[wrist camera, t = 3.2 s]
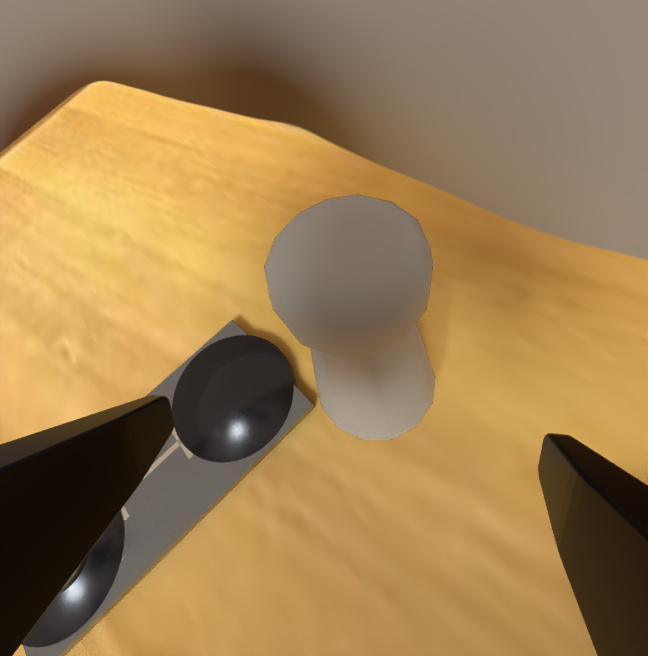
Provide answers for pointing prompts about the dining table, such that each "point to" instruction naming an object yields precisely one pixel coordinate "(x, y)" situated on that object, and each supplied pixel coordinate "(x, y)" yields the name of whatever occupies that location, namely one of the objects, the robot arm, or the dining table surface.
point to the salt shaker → (358, 310)
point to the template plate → (182, 474)
